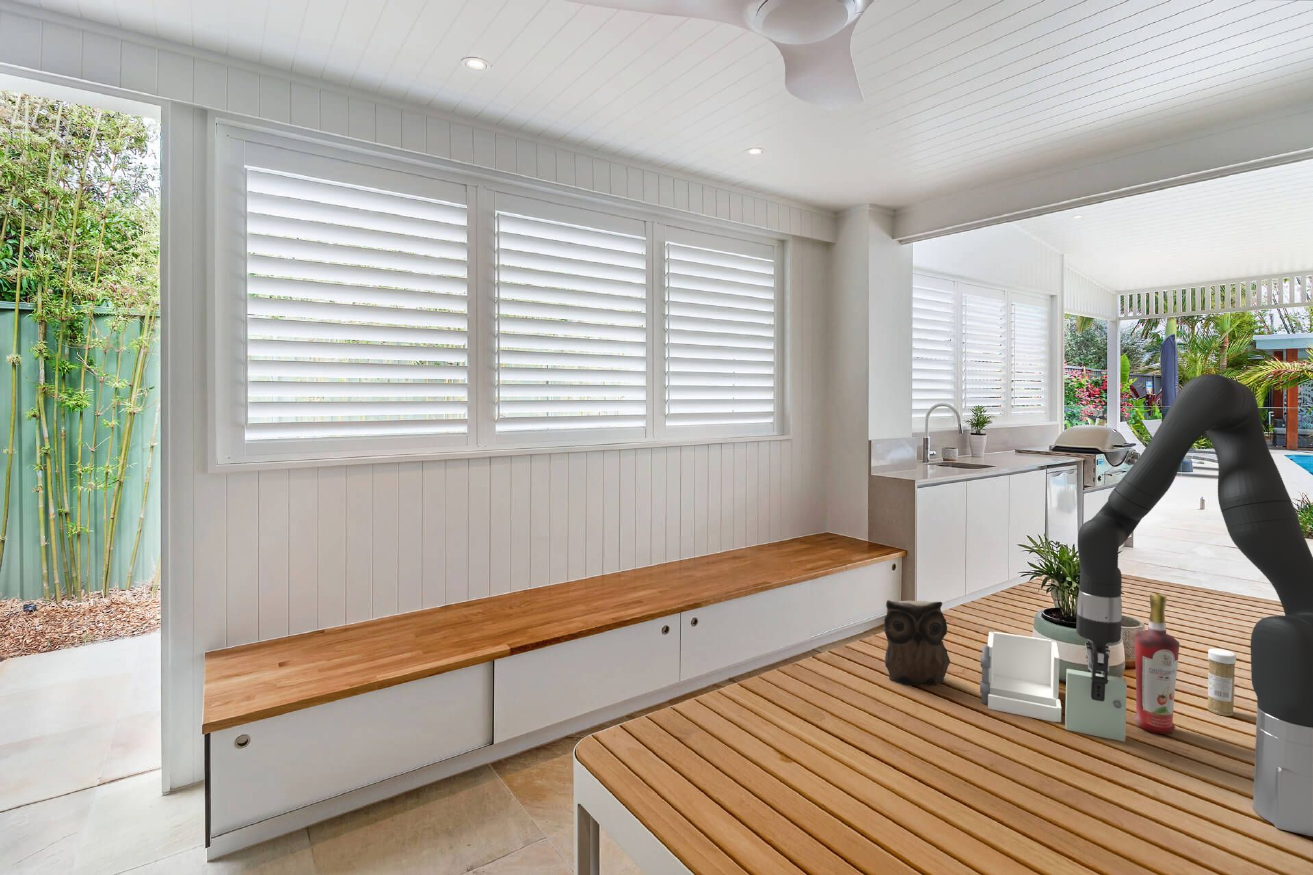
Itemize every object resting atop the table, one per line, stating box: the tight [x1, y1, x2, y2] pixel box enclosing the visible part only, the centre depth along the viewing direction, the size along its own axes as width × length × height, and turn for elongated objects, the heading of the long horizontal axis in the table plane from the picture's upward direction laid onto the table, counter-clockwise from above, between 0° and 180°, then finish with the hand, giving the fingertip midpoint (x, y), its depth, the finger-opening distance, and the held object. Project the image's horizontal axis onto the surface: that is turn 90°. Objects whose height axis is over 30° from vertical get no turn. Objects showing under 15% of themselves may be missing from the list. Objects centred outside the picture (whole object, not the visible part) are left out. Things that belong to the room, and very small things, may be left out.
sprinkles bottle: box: [1206, 648, 1237, 717], centre depth 141 cm, size 5×5×14 cm
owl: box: [883, 599, 951, 687], centre depth 158 cm, size 13×13×20 cm
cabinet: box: [979, 630, 1062, 723], centre depth 148 cm, size 18×16×13 cm
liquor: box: [1133, 593, 1180, 735], centre depth 133 cm, size 7×7×28 cm
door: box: [1064, 668, 1128, 742], centre depth 132 cm, size 4×10×12 cm, turn 61°
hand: (1095, 691), depth 133 cm, fingers open, 8 cm apart
